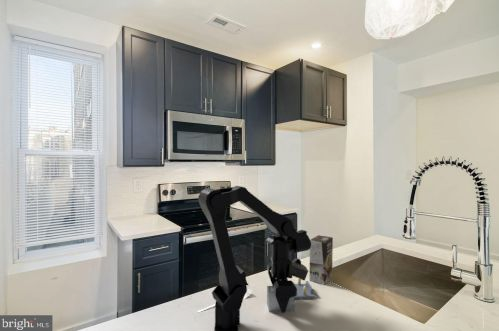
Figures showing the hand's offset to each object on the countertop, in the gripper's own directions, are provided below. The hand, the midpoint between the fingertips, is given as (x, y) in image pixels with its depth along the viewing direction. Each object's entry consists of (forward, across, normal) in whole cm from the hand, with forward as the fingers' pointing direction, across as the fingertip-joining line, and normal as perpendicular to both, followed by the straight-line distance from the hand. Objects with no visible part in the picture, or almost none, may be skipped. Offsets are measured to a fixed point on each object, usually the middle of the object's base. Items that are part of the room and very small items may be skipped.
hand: (280, 303), depth 81 cm
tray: (+1, +9, -7) cm, 11 cm away
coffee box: (+1, +19, -20) cm, 28 cm away
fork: (+2, +4, +18) cm, 18 cm away
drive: (+1, 0, 0) cm, 1 cm away
